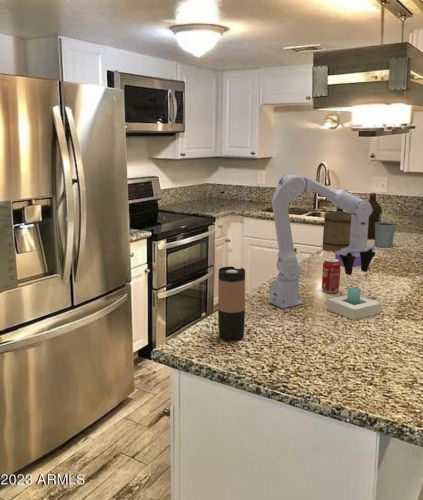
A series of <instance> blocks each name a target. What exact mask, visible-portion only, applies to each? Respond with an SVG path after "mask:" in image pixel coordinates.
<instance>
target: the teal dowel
mask: <svg viewBox="0 0 423 500" xmlns="http://www.w3.org/2000/svg"><path fill="white" fill-rule="evenodd" d="M347 295H348V296H347V303H350V304H352V305H358V304H360V296H361V288H359V287H354V286H353V287H348V288H347Z"/></svg>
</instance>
